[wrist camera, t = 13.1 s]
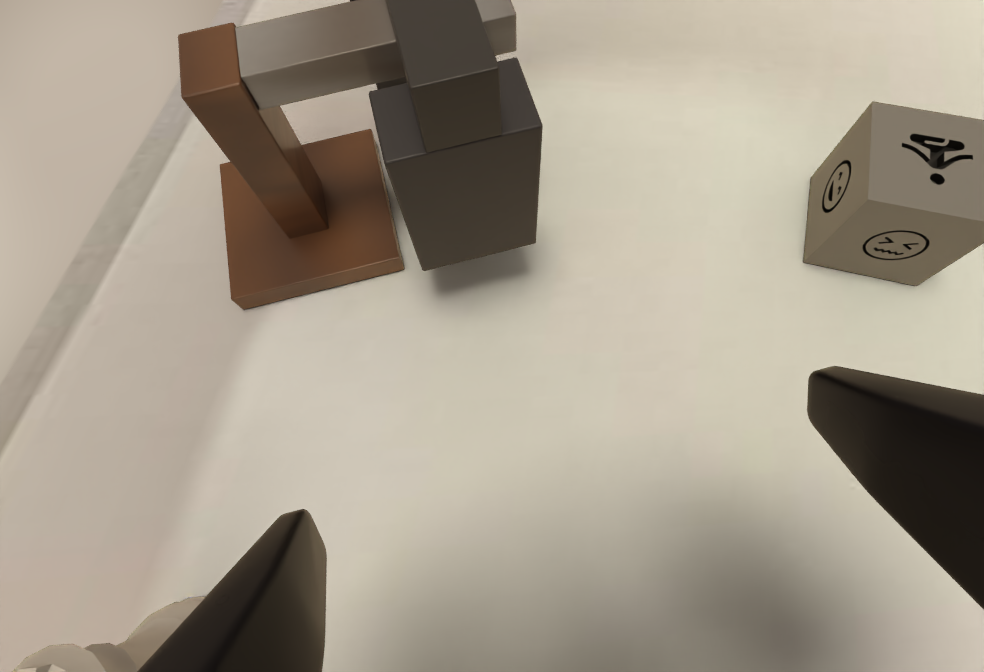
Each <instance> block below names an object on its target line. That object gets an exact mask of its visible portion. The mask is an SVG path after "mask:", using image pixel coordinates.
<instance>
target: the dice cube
mask: <svg viewBox="0 0 984 672" xmlns="http://www.w3.org/2000/svg"><path fill="white" fill-rule="evenodd" d="M983 243H984V120H980V119H974V118H968V117H962V116H956V115H950V114H944V113H939V112H933V111H927V110H921V109H915V108H909V107H903V106H897V105H891V104H885V103H879V102H873V101H872V103H871V104H870V105H869V106H868V108H867V109H866V110H865V111H864V113H863V114H862V115H861V116H860V118H859V119H858V120H857V121H856V122H855V124H854V125H853V126H852V127H851V129H850V130H849V131H848V132H847V134H846V135H845V136H844V137H843V139H842V140H841V141H840V142H839V143H838V145H837V146H836V147H835V148H834V150H833V151H832V152H831V153H830V155H829V156H828V157H827V158H826V160H825V161H824V162H823V163H822V165H821V166H820V167H819V168H818V169H817V171H816V172H815V173H814V174H813V176H812V177H811V183H810V194H809V206H808V217H807V228H806V239H805V250H804V261H803V262H804V263H809V264H814V265H819V266H823V267H828V268H833V269H838V270H842V271H847V272H852V273H857V274H862V275H866V276H871V277H876V278H881V279H885V280H890V281H895V282H900V283H904V284H909V285H914V286H917V285H919V284H920V283H922V282H924V281H925V280H927V279H928V278H930V277H931V276H933V275H935V274H936V273H938V272H939V271H941V270H942V269H944V268H946V267H947V266H949V265H950V264H952V263H953V262H955V261H957V260H958V259H960V258H961V257H963V256H964V255H966V254H967V253H969V252H971V251H972V250H974V249H975V248H977V247H978V246H980V245H982V244H983Z"/></svg>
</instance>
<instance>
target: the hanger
mask: <svg viewBox="0 0 984 672" xmlns="http://www.w3.org/2000/svg"><path fill="white" fill-rule="evenodd" d="M475 1H476V4H477V7H478V9H479V12H480V15H481V18H482V21H483V24H484V26H485V29H486V32H487V35H488V38H489V40H490V43H491V46H492V49H493V52H494V55H495V56H496V55H500V54H504V53H509V52H513V51H516V12H515V10H514V7H513V5H512V2H511V0H475ZM178 41H179V59H180V78H181V96H182V99H183V100H184V101H185V102H186V104H187V105H188V106H189V108H190V109H191V110H192V112H193V113H194V114H195V116H196V117H197V118H198V120H199V121H200V122H201V123H202V125H203V126H204V127H205V129H206V130H207V131H208V133H209V134H210V135H211V137H212V138H213V139H214V141H215V142H216V143H217V144H218V146H219V147H220V148H221V150H222V151H223V152H224V154H225V155H226V156H227V158H228V159H229V160H230V162H228V163H224V164H220V173H221V184H222V196H223V208H224V220H225V231H226V243H227V255H228V267H229V278H230V290H231V299H232V301H234V302H235V303H236V304H237V305H238V306H240V307H241V308H242V309H248V308H252V307H256V306H260V305H264V304H268V303H272V302H276V301H280V300H284V299H288V298H292V297H296V296H300V295H304V294H308V293H312V292H316V291H320V290H324V289H328V288H332V287H336V286H340V285H344V284H348V283H352V282H356V281H360V280H364V279H368V278H372V277H376V276H380V275H384V274H388V273H392V272H396V271H400V270H404V265H403V261H402V256H401V252H400V248H399V243H398V239H397V234H396V230H395V225H394V221H393V216H392V212H391V207H390V203H389V198H388V194H387V189H386V185H385V180H384V176H383V171H382V167H381V162H380V158H379V153H378V149H377V144H376V142H375V139H374V136H373V133H372V130H371V129H368V130H364V131H359V132H355V133H351V134H347V135H342V136H338V137H334V138H330V139H326V140H321V141H317V142H313V143H309V144H304V145H301V144H300V142H299V140H298V138H297V136H296V135H295V133H294V131H293V129H292V127H291V125H290V124H289V122H288V120H287V118H286V116H285V115H284V113H283V111H282V109H281V107H280V105H285V104H289V103H293V102H298V101H302V100H306V99H311V98H315V97H319V96H324V95H328V94H332V93H336V92H341V91H345V90H349V89H354V88H358V87H362V86H367V85H371V84H375V83H379V82H384V81H388V80H392V79H397V78H401V77H405V72H404V68H403V65H402V61H401V57H400V53H399V50H398V46H397V42H396V38H395V34H394V31H393V27H392V23H391V19H390V16H389V12H388V8H387V4H386V0H356V1H351V2H347V3H342V4H338V5H333V6H329V7H324V8H320V9H316V10H311V11H307V12H302V13H298V14H293V15H289V16H284V17H280V18H275V19H271V20H267V21H262V22H258V23H253V24H249V25H244V26H240V27H236V26H235V24H234V23H228V24H223V25H219V26H215V27H210V28H206V29H201V30H197V31H192V32H188V33H184V34H180V35H179V36H178Z"/></svg>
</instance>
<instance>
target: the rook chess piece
mask: <svg viewBox="0 0 984 672" xmlns="http://www.w3.org/2000/svg"><path fill="white" fill-rule="evenodd" d="M204 598H205V597H193V598H187V599H185V600H183V601H181V602H174V603H172V604H170V605H168V606H166V607H164V608H162V609H160V610H158V611H156V612H155V613H153V614H151V615H150V616H148V617H147V618H146V619H145V620H144V621H143V622H142V623H141V624H140V625H139V626H138V627H137V628H136V630H135V631H134V632H133V633H132V634H131V635H130V636H129V637H128V639H127V640H126V641H125V642H123V643H121V644H119V645H116V646H115V645H113V644H110V643H106V644H92V645H89V646H87V647H86V648H81V647H79V646H77V645H75V644H63V645H50V646H48V647H46V648H44V649H42V650H40V651H38V652H36V653H34V654H32V655H30V656H28V657H26V658H25V659H24V660H23V661H22V662H21V663H20V664H19V665H18V666H17V667H16V668H15V669H14V670H13V671H12V672H137V671H138V670H139V669H140V668H141V667H142V666H143V665H144V663H145V662H146V661H147V660H148V659H149V658H150V657H151V656H152V655H153V654H154V653H155V652H156V650H157V649H158V648H159V647H160V646H161V645H162V644H163V643H164V642H165V641H166V640H167V638H168V637H169V636H170V635H171V634H172V633H173V632H174V631H175V630H176V629H177V628H178V627H179V625H180V624H181V623H182V622H183V621H184V620H185V619H186V618H187V617H188V616H189V615H190V614H191V612H192V611H193V610H194V609H195V608H196V607H197V606H198V605H199V604H200V603H201V602H202V600H203V599H204Z"/></svg>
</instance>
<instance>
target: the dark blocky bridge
mask: <svg viewBox="0 0 984 672" xmlns="http://www.w3.org/2000/svg"><path fill="white" fill-rule="evenodd" d="M351 1H356V0H350V2H351ZM386 4H387V8H388V12H389V16H390V19H391V23H392V27H393V31H394V34H395V38H396V42H397V46H398V50H399V53H400V57H401V61H402V65H403V68H404V72H405V77H401V78H397V79H392V80H388V81H384V82H379V83H376V85H377V89H378V90H374V91H370V92H369V98H370V102H371V107H372V111H373V116H374V120H375V124H376V129H377V133H378V138H379V142H380V146H381V151H382V155H383V160H384V164H385V167H386V169H387V172H388V175H389V178H390V181H391V183H392V186H393V189H394V192H395V195H396V197H397V200H398V203H399V206H400V209H401V211H402V214H403V217H404V220H405V223H406V225H407V228H408V231H409V234H410V237H411V239H412V242H413V245H414V248H415V251H416V253H417V256H418V259H419V262H420V265H421V267H422V270H423V271H427V270H431V269H435V268H439V267H443V266H447V265H451V264H455V263H459V262H463V261H467V260H471V259H475V258H479V257H483V256H487V255H490V254H494V253H498V252H502V251H506V250H510V249H514V248H518V247H522V246H526V245H530V244H534V243H536V229H537V212H538V194H539V177H540V160H541V142H542V123H541V120H540V117H539V115H538V112H537V109H536V107H535V104H534V101H533V99H532V96H531V93H530V91H529V88H528V85H527V83H526V80H525V77H524V75H523V72H522V69H521V67H520V64H519V61H518V59H517V58H511V59H507V60H503V61H498V62H497V60H496V57H495V55H494V52H493V49H492V46H491V43H490V40H489V38H488V35H487V32H486V29H485V26H484V24H483V21H482V18H481V15H480V12H479V9H478V7H477V4H476V1H475V0H386Z"/></svg>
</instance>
